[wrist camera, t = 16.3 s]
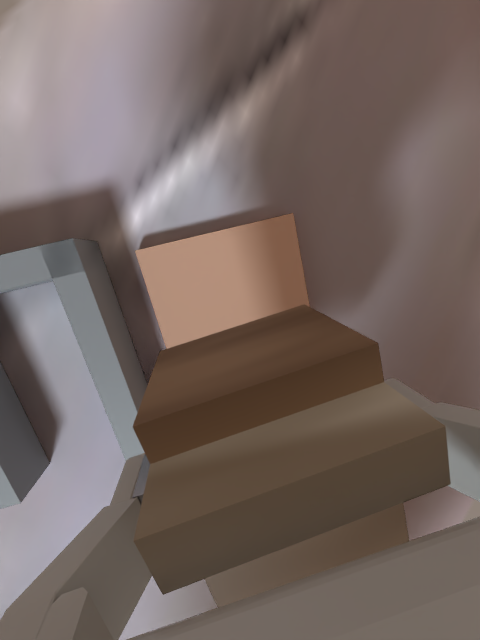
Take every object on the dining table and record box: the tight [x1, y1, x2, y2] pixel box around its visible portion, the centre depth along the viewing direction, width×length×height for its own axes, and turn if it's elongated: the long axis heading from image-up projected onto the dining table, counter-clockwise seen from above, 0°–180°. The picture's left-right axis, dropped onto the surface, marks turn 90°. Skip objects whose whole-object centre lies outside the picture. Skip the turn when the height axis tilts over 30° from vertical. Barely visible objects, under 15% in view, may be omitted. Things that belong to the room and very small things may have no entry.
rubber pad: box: [135, 213, 310, 349], centre depth 18 cm, size 14×9×1 cm, turn 13°
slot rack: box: [0, 238, 147, 509], centre depth 15 cm, size 12×9×3 cm
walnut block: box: [133, 304, 451, 608], centre depth 8 cm, size 10×5×6 cm, turn 16°
